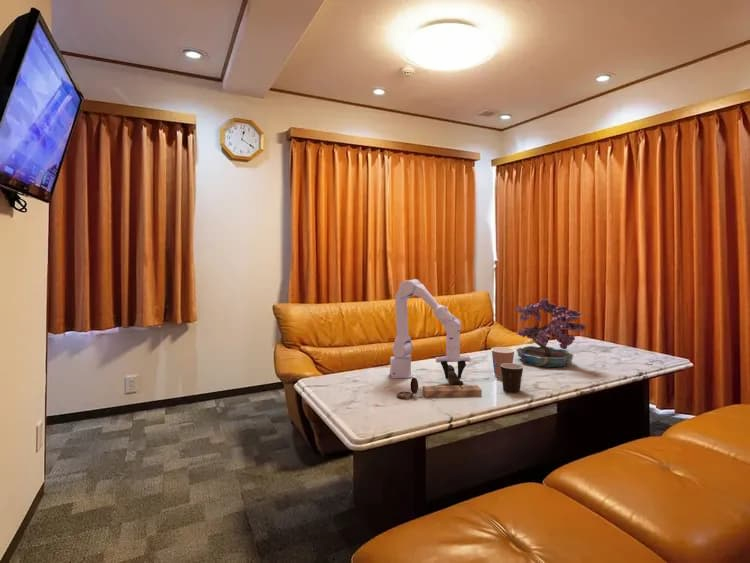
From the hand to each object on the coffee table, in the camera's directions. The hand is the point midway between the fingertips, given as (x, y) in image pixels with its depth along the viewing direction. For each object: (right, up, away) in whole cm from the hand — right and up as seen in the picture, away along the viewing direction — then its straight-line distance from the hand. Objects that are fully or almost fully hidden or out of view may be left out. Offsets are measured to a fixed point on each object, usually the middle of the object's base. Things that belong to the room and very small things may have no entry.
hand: (452, 378), depth 176 cm
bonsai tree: (+53, 0, +30) cm, 61 cm away
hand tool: (-1, -2, 0) cm, 2 cm away
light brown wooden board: (-3, -3, -14) cm, 15 cm away
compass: (-21, -3, -17) cm, 27 cm away
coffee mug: (+21, -3, -11) cm, 23 cm away
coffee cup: (+24, -1, +10) cm, 27 cm away
